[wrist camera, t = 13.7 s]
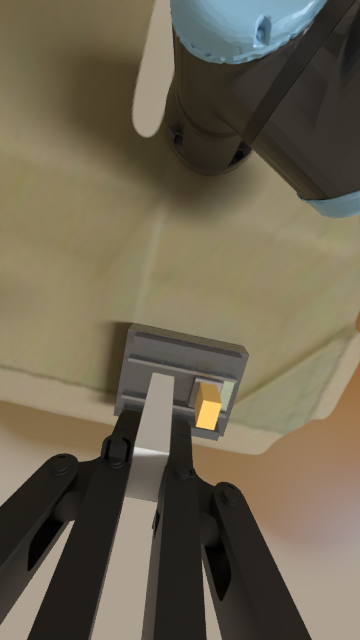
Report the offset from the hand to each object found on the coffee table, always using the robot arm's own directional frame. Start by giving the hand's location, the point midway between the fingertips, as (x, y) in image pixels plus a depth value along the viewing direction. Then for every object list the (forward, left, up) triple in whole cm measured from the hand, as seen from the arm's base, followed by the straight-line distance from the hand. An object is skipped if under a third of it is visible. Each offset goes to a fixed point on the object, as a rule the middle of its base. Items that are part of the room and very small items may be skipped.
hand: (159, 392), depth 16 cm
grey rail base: (+14, +4, -29) cm, 33 cm away
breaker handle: (+14, +9, -25) cm, 30 cm away
